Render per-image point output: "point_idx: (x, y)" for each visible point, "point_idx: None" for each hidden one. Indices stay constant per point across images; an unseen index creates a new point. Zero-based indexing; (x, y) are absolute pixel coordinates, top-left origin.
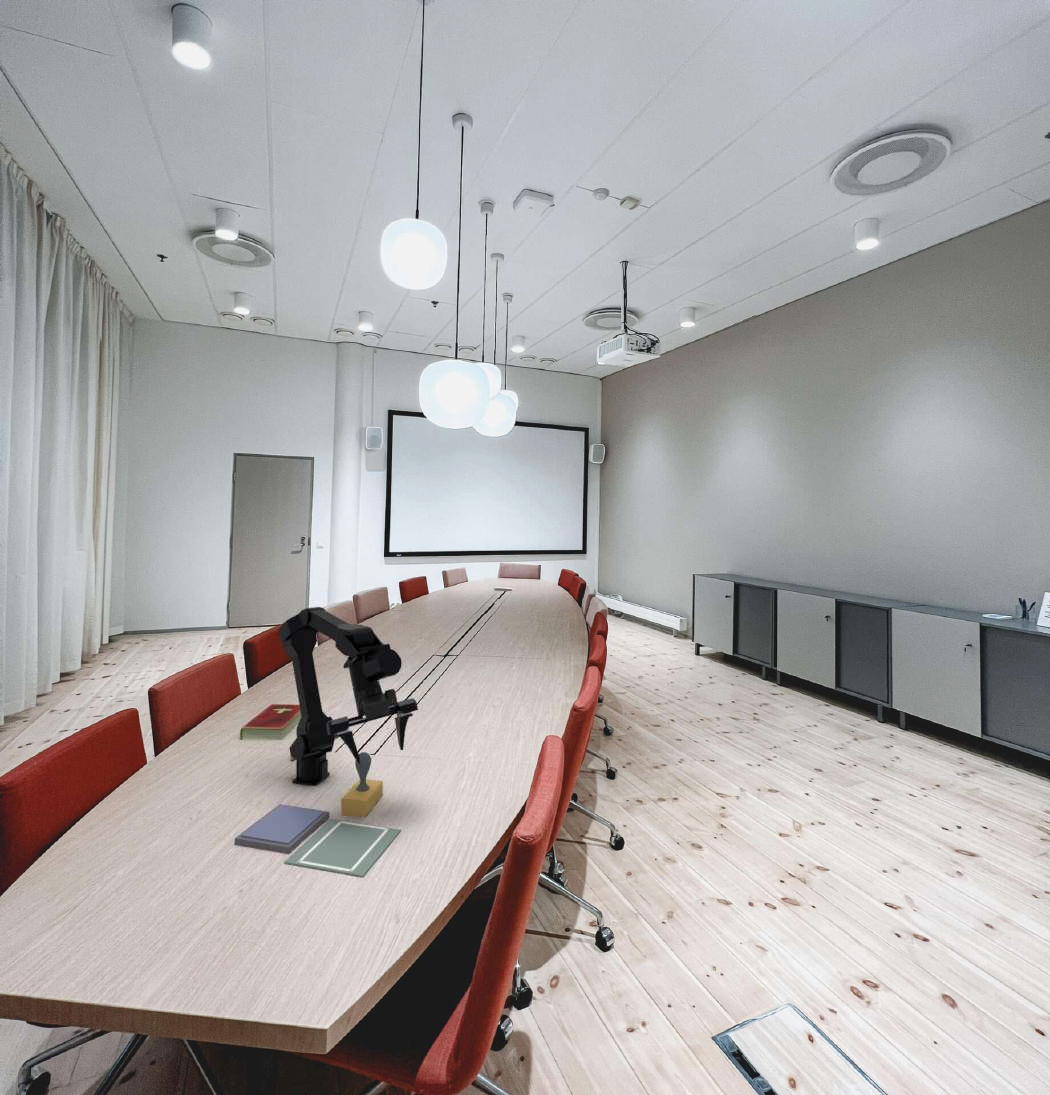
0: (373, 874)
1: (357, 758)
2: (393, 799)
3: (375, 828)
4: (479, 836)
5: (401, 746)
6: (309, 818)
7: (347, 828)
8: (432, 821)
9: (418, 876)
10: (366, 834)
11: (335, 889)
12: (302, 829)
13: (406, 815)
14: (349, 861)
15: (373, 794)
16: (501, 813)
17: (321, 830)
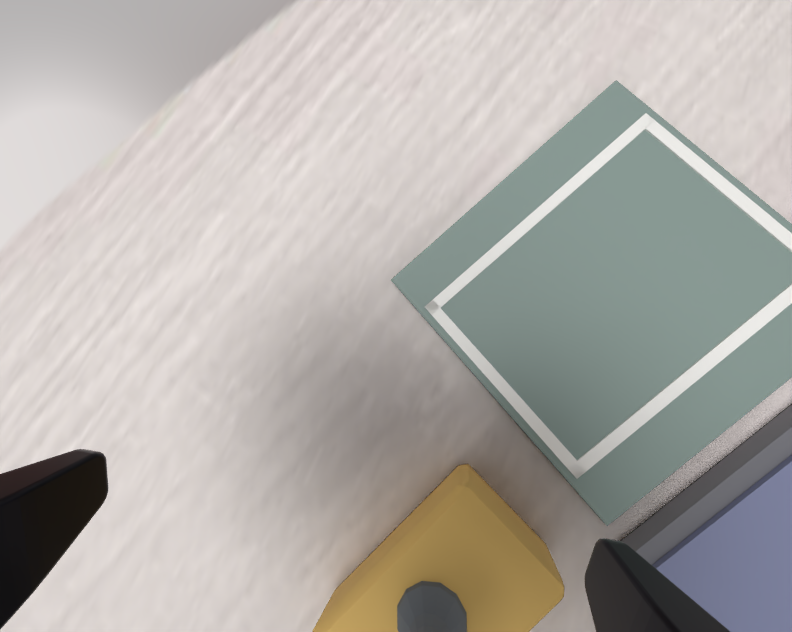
0: (576, 86)
1: (668, 591)
2: (312, 526)
3: (468, 339)
4: (206, 126)
5: (56, 470)
6: (731, 555)
7: (567, 403)
8: (273, 282)
9: (456, 20)
10: (514, 317)
11: (720, 63)
12: (789, 470)
13: (327, 374)
14: (633, 178)
15: (399, 542)
16: (82, 211)
17: (673, 453)
